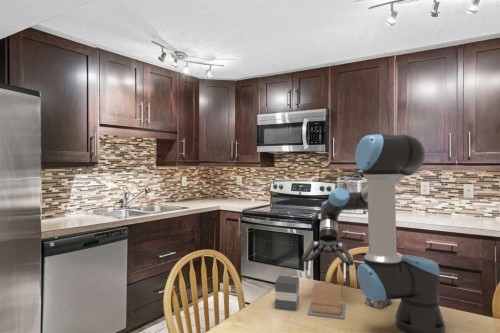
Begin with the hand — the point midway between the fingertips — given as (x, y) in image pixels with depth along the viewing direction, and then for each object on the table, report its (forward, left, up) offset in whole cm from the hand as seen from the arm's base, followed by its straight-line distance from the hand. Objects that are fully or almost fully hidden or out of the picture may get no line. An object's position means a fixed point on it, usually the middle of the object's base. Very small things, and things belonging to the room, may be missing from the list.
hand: (326, 278), depth 136 cm
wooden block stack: (0, +4, -10) cm, 11 cm away
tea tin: (+15, +5, -10) cm, 18 cm away
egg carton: (-19, -7, -11) cm, 23 cm away
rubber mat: (0, +5, -10) cm, 11 cm away
